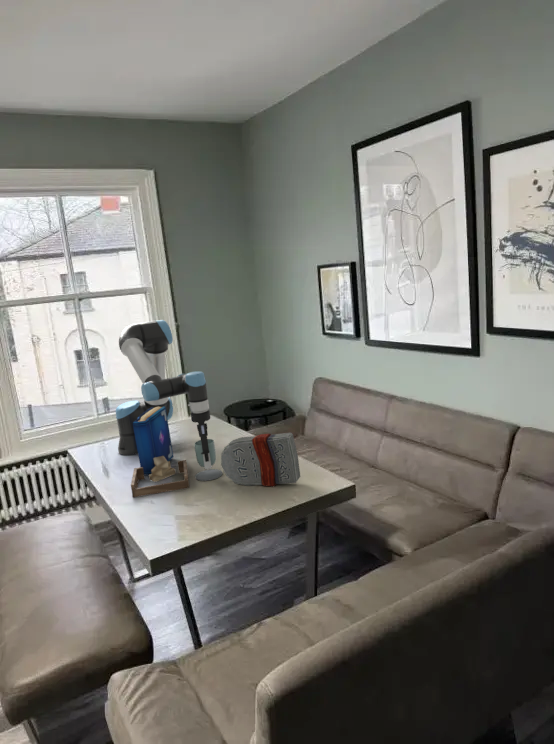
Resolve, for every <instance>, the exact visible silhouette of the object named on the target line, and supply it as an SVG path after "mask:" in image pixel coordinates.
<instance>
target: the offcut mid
mask: <svg viewBox="0 0 554 744" xmlns="http://www.w3.org/2000/svg"><path fill="white" fill-rule="evenodd" d="M170 468H172V466H171V460H170V461H168V468H164V469H160V470H158V469H157V467H156V466H155V467H154V468H153V469H152V470H151V471H152V476H163V475H164V474H165V473H166V472H167V471H168V470H169V469H170Z"/></svg>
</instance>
